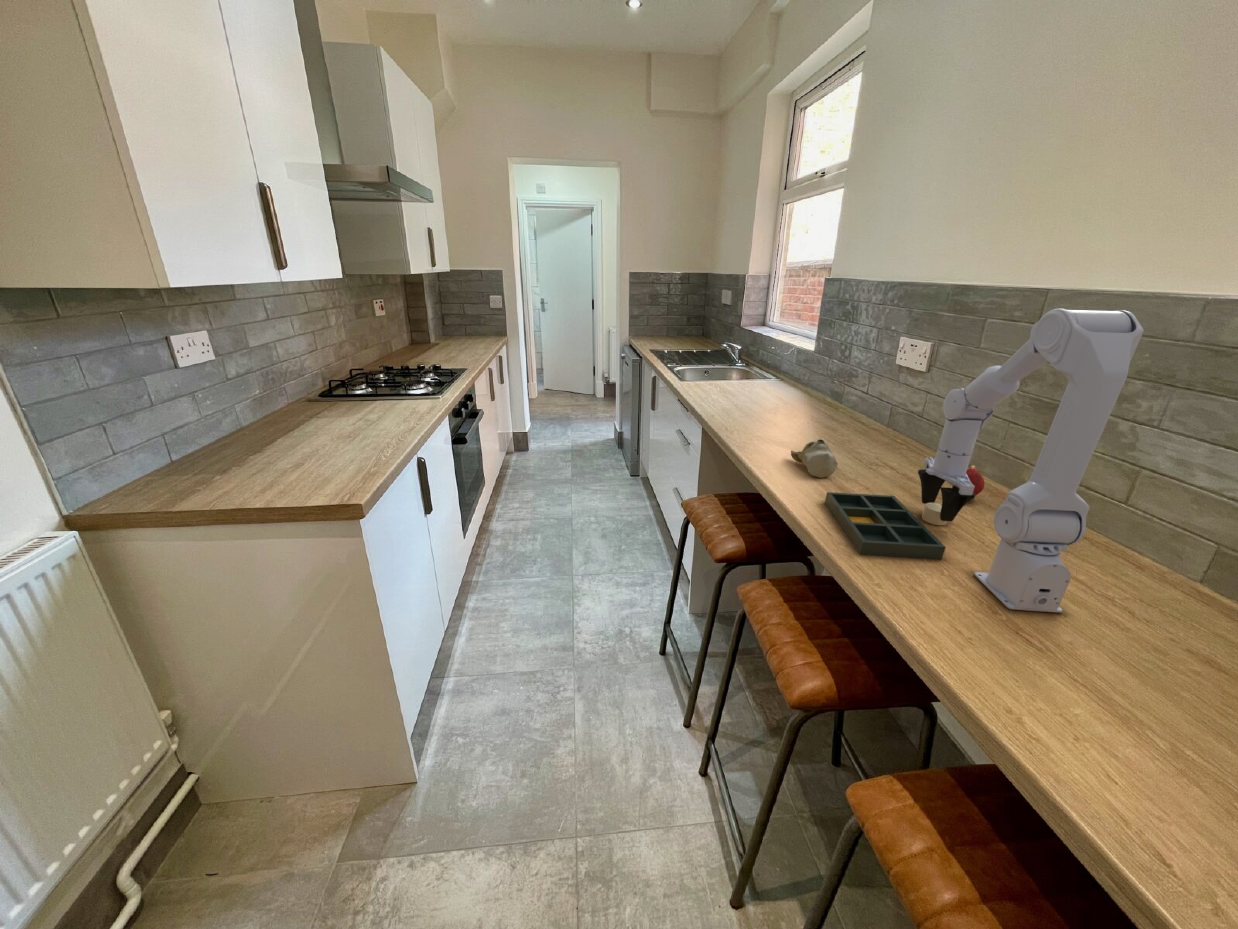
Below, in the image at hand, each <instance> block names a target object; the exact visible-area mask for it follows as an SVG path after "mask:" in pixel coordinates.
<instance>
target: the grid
mask: <svg viewBox="0 0 1238 929" xmlns="http://www.w3.org/2000/svg"><path fill="white" fill-rule="evenodd" d="M824 504H825V505H826V507H827V508H828V510H829V511H830V513H831V514H832V515H833V517H834V519H835V520H836V521H837V523H838V524H839V526H840V527H841V529H842V530H843V532H844V533H845V535H846V536H847V537H848V539H849V541H851V543H852V545H853V546H854V548H855V549H856V550H857V552H858V554H860V555H864V556H865V555H866V556H882V557H884V556H885V557H899V558H915V559H917V558H918V559H931V560H932V559H933V560H943V557H944V554H945V551H946V546H945V545H944V544H943V543H942V542H941V541H940V539H938V538H937V537H936V536H935V534H934V533H932V532H931V531H930V530H929V529H928V528H927V527H926V526H925V525H924V524H923V523H922V522H921V521H920V519H918V518H917V517H916V515H914V514H913V512H911V511H910V510H909V509H908V508H907V507H906V506H905V505H904V504H903V503H902V502H901V501H900V500H899V499H898V497H896V496H895V495H887V494H870V493H869V494H867V493H851V492H850V493H849V492H830V491H829V492H828V491H827V492H826V495H825V500H824Z"/></svg>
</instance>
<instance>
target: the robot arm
mask: <svg viewBox="0 0 1238 929" xmlns="http://www.w3.org/2000/svg"><path fill="white" fill-rule="evenodd" d="M1144 331H1145V330H1144V328H1143V326H1142V325H1141V323H1140V322H1139V320H1138V319H1137V317H1136V316H1135V315H1134V313H1132V312H1131V311H1128V310H1126V309H1125V310H1124V309H1119V310H1117V309H1116V310H1085V309H1083V310H1081V309H1080V310H1078V309H1065V308H1054V309H1051V310H1048V311H1047V312H1046V313H1045V314H1043V315H1042V316H1041V317H1040V319H1039V320H1038V321H1036V322H1035V323H1033V325H1032V327H1031V330H1030V334H1029V339H1028V340H1027V341H1026V342H1025V343H1024V344H1023V345H1021V347H1020V348H1019V349H1018V350H1016V351H1015V353H1014V354H1013V355H1011V356H1010V357H1009V359H1007V360H1006V361H1005V362H1004V363H1003V364H1002V365H992V366H988V367H987V368H985V369H984V371H983V372H982V373H981V374H980V375H979V376H977V377H976V378H975V379H974V380H972V381H971V382H970V383H969V384H968V385H967V386H965V387H964V388H963V387H961V388H953V389H950V391H949V392H948V393H947V394H946V396H945V397H944V399H943V403H942V412H943V415H944V417H945V422H944V425H943V429H942V432H941V436H940V439H939V443H938V445H937V450H936V453H935V456H934V457H925V458H924V462H923V467H925V468H924V469H921V468H920V469H918V470H917V474H918V477H919V480H920V486H921V489H920V490H921V503H922V504H924V505H925V504H926V503H936V500H937V497H938V496H939V493H940V492H941V493H940V494H941V504H942V508H941V513H940V519H941V520H942V521H947V522H953V521H954V520H955V518H956V517H957V515H958V514H959V513H960V511H961V510H962V509H963V508H964V507H965V506H966V504H968V503H969V502H970V501H972V500H974V499H975V497H976V496H977V495H976V494H975V493H974V492H973V490H974V487H975V486H974V485H973V484H972V483H971V482H970V480H969V478H968V476H967V474H966V471H967V470H968V468H969V464H970V462H971V458H972V455H973V453H974V449H975V447H976V446H975V445H976V444H977V439H978V436H979V433H980V432H981V431H983V430H984V429H985V425H986V423H987V422H988V421H989V420H990V419H991V418H992V416H993V415H994V412H995V409H994V408H995V407H996V406H998V405H999V404H1001V402H1003V401H1005V399H1007V398H1009V397H1010V396H1011V395H1013V394H1015V392H1017V391H1018V390H1019V388H1020V380H1022V379H1023V378H1025V377H1027V376H1028V375H1030V374H1032V373H1033V372H1035V371H1036V370H1038V369H1039V368H1041V367H1042V366H1044V365H1046V364H1047V363H1049V365H1051V366H1052V367H1053V368H1054V369H1055V370H1056V371H1058V372H1060V373H1063V375H1064V376H1065V377H1066V380H1067V385H1066V387H1065V390H1064V393H1063V395H1062V397H1061V400H1060V402H1059V406H1058V407H1057V410H1056V413H1055V416H1054V417H1053V420H1052V423H1051V424H1050V428H1049V430H1048V433H1047V436H1046V438H1045V440H1044V443H1043V445H1042V448H1041V451H1040V453H1039V456H1038V457H1037V461H1036V463H1035V466H1034V468H1033V470H1032V473H1031V476H1030V478H1029V480H1028V481H1027V482H1025V483H1023V484H1021V485H1019V486H1017V487H1015V488H1013V489H1011V490H1010V491H1008V492H1007V495H1006V497H1005V500H1004V501H1003V502H1002V503H1001V504H1000V505H999V506H998V508H997V509H996V511H995V513H994V516H993V526H994V530H995V531H996V533H997V536H998V537H999V538H1000V540H999V543H998V546H997V549H996V552H995V554H994V556H993V559H992V563H991V565H990V569H989V571H988V572H983V571H975V572H973V575H974V576H975V577H976V578H977V579H978V580H979V581H980V582H981V584H983V585H984V586H985V587H986V589H987V590H989V591H990V592H991V593H992V594H993V595H994V597H996V598H997V599H998V600H999V601H1000V602H1001V604H1003V605H1004V606H1005V607H1006V608H1007V609H1009V610H1017V611H1030V612H1031V611H1033V612H1046V613H1059V614H1060V613H1062V612H1063V608H1061V606H1060V604H1061V602H1062V600H1063V598H1064V595H1065V593H1066V590H1067V589H1068V587H1069V585H1070V584H1069V583H1070V581H1071V576H1072V575H1071V572H1070V570H1069V569H1068V567H1067V566H1066V565H1065V564H1064V563H1063V561H1062V558H1061V553H1063V552H1065V553H1066V551H1067V550H1068V548H1069V546H1074V545H1076V544H1078V543H1079V542H1081V540H1082V539H1083V538H1084V536H1085V534H1086V530H1087V516H1088V513H1089V511H1090V509H1091V508H1090V507H1091V506H1090V505H1089V504H1088V503H1087V502H1086V501H1085V500H1084V499H1083V497H1081V496H1080V495H1079V494H1078V493H1077V490H1078V488H1079V486H1080V483H1081V481H1082V480H1083V477H1084V475H1085V473H1086V470H1087V468H1088V466H1089V464H1090V462H1091V459H1092V457H1093V455H1094V452H1095V450H1096V448H1097V446H1098V444H1099V441H1100V439H1101V437H1102V435H1103V433H1104V430H1105V428H1106V425H1107V424H1108V421H1109V418H1110V416H1111V414H1112V413H1113V410H1114V408H1115V406H1116V403H1117V401H1118V398H1119V396H1120V394H1121V392H1122V390H1123V387H1124V385H1125V383H1126V380H1127V378H1128V374H1129V369H1130V363H1131V361H1132V360H1133V359H1132V358H1133V356H1134V354H1135V352H1136V350H1137V347H1138V345H1139V343H1140V340H1141V338H1142V336H1143V334H1144ZM945 482H947V483H948V484H950V485H951V486H952V487H945V486H943V485H944V483H945ZM975 495H976V496H975Z"/></svg>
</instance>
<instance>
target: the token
mask: <svg viewBox="0 0 1238 929" xmlns="http://www.w3.org/2000/svg"><path fill="white" fill-rule="evenodd" d="M941 508H942V503H937V502H934V503H926V504H924V508H923V512H922V515H921V519H922V520H923V521H924V522H926V523H927V524H930V525H936V526H946V525H947V523H948V521H942V520H941V519H940V513H941Z"/></svg>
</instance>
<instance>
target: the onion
mask: <svg viewBox="0 0 1238 929" xmlns="http://www.w3.org/2000/svg"><path fill="white" fill-rule="evenodd" d="M966 474H967V476H968V478H969V480H970V482H971V483H972V484H973V485H974V486H975V487H974V490H973V492H974V493H975V494H976V495H975V497H976V496H978V495H979V494H980V493H982V491H983V490H984V488H985V479H984V477H983V475H982V474H981V473H980V472H979V471H978V470H977V467H976V466H975V465H970V467H969V469H968V468H967V471H966Z"/></svg>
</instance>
